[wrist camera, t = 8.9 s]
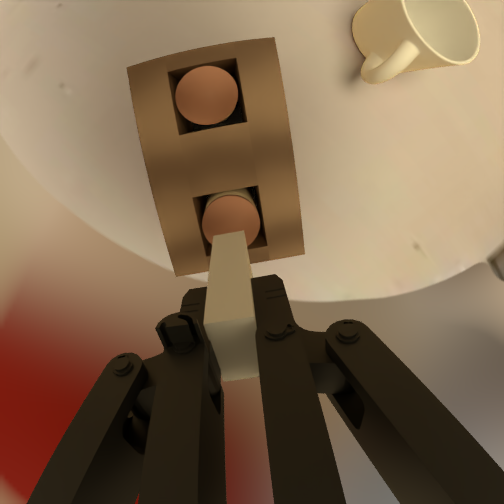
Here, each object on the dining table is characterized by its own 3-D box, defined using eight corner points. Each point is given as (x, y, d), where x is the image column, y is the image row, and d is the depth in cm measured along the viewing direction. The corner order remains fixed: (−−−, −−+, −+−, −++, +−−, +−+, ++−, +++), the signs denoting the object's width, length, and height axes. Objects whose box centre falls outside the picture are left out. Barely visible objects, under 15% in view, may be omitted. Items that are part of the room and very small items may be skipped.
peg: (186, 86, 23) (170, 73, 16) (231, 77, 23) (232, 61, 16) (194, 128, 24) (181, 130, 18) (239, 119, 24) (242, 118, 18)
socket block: (154, 80, 23) (126, 67, 16) (261, 59, 23) (274, 37, 16) (188, 237, 30) (176, 276, 23) (286, 219, 30) (304, 254, 23)
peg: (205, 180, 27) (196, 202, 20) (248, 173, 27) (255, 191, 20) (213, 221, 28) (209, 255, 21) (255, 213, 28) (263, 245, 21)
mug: (376, 113, 26) (438, 117, 16) (312, 59, 23) (355, 31, 14) (428, 44, 22) (490, 32, 13) (373, -8, 20) (425, -42, 10)
